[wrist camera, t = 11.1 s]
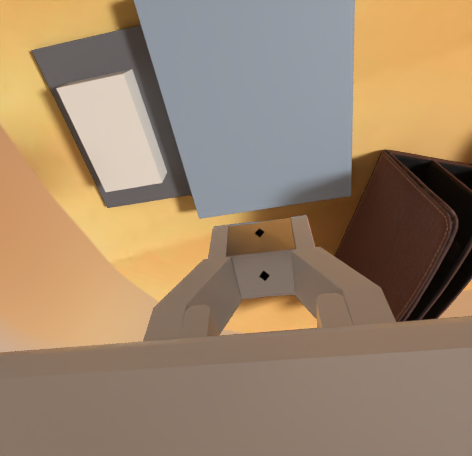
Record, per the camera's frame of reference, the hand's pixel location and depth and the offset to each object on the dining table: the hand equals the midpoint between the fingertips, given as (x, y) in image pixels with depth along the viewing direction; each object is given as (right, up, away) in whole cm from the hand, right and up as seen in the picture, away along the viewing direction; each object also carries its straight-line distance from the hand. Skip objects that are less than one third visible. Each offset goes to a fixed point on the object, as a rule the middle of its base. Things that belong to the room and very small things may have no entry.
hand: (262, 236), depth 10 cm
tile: (-12, +10, +21) cm, 26 cm away
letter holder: (+17, 0, +28) cm, 33 cm away
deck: (+1, +12, +19) cm, 23 cm away
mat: (-12, +10, +21) cm, 26 cm away
